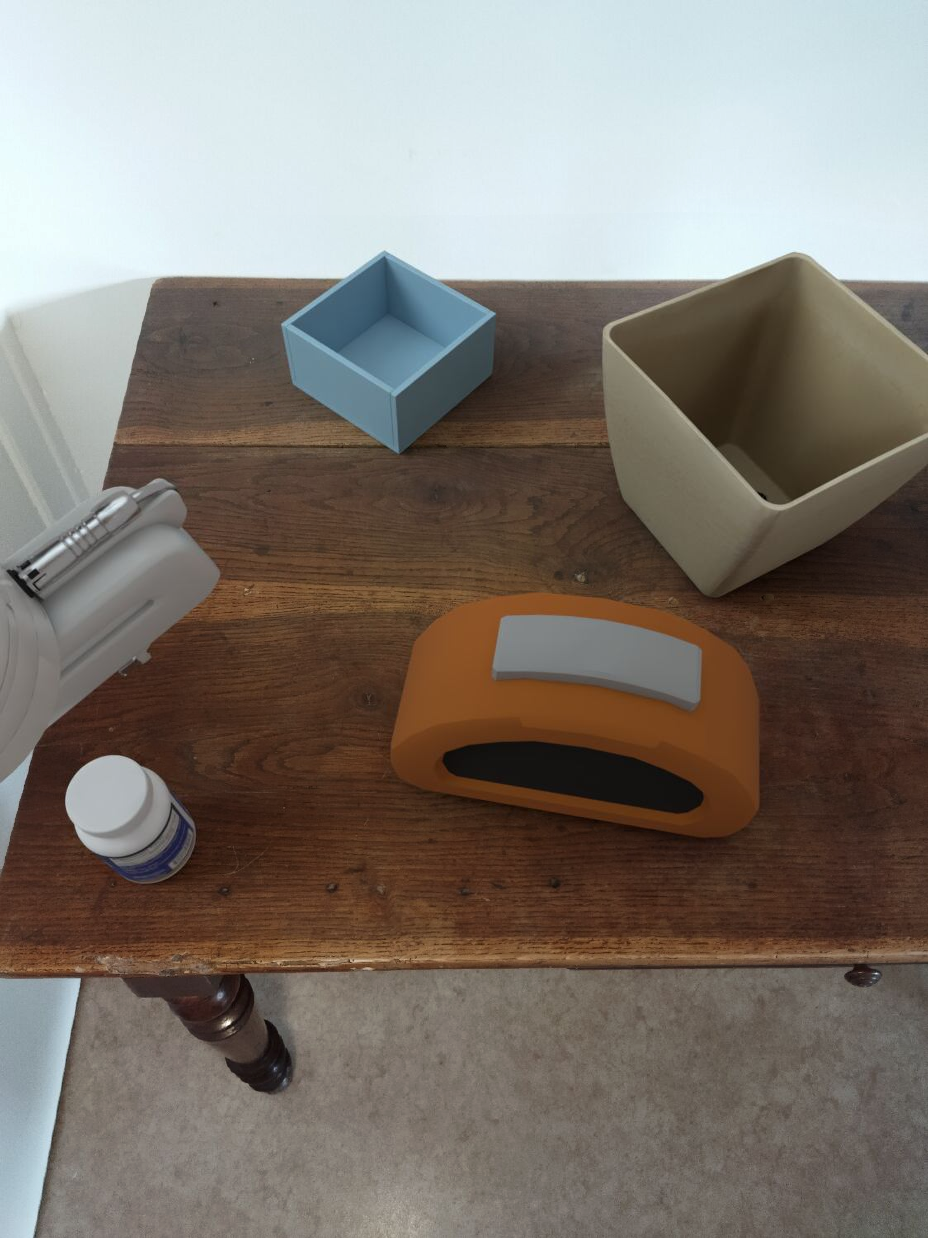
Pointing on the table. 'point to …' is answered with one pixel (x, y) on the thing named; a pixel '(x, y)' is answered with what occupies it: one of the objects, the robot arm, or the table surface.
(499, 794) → the alarm clock
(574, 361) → the table surface
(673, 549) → the flower pot
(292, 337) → the open box
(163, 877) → the pill bottle
